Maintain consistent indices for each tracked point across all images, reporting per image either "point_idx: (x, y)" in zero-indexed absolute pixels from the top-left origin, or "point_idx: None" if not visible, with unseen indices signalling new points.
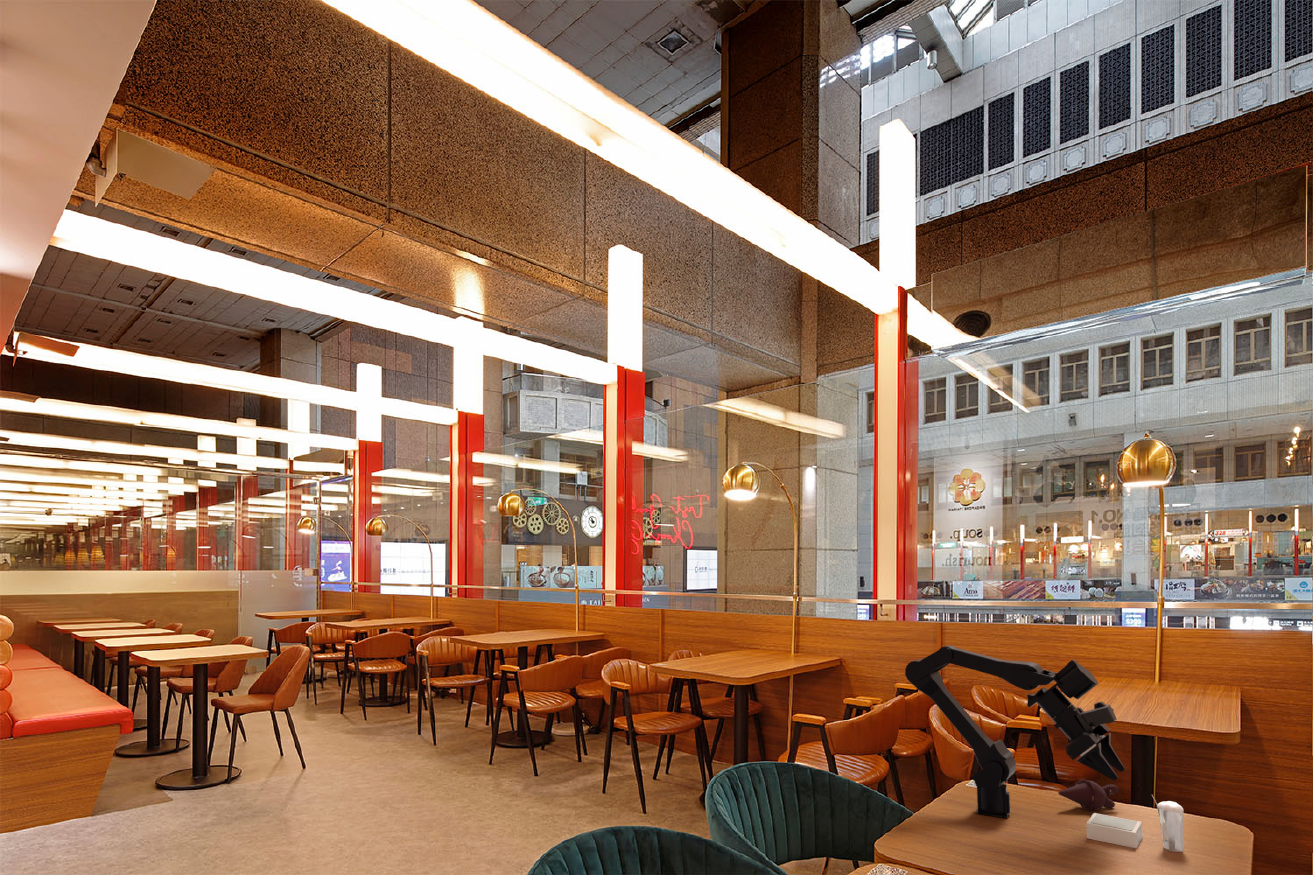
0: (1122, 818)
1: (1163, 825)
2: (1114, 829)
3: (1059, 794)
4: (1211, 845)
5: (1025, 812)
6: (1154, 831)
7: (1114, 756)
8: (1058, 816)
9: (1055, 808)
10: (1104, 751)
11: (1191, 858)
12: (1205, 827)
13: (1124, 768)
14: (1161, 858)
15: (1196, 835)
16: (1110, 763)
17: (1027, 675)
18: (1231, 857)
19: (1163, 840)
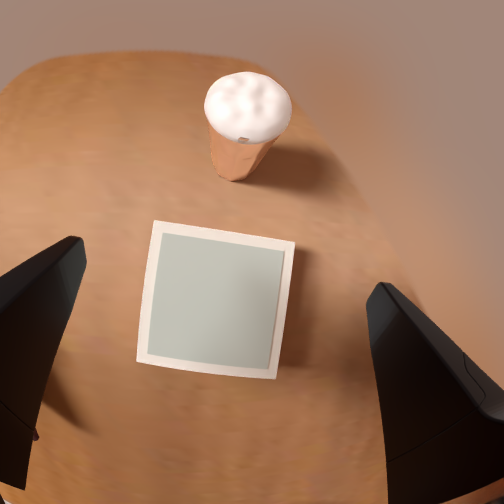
0: (147, 276)
1: (261, 155)
2: (286, 300)
3: (38, 436)
4: (151, 89)
5: (134, 489)
6: (94, 198)
7: (24, 307)
8: (109, 430)
9: (49, 427)
10: (2, 393)
11: (282, 133)
12: (28, 107)
13: (80, 238)
14: (325, 195)
15: (87, 114)
16: (57, 334)
17: None
18: (222, 66)
19: (242, 174)
